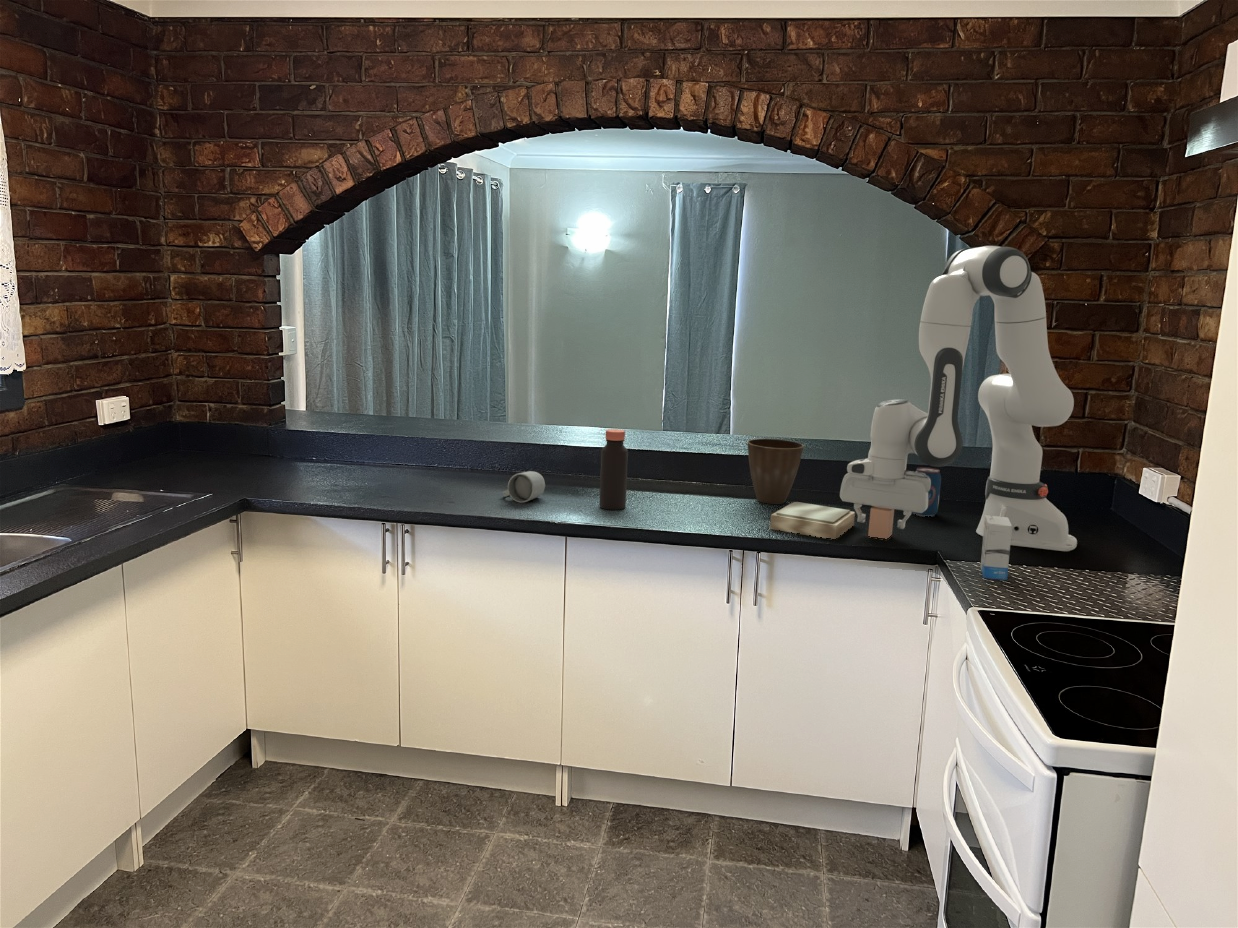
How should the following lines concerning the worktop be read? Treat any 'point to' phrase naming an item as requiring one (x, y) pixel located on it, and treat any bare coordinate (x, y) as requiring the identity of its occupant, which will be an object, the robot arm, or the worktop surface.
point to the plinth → (812, 520)
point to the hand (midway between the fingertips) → (880, 524)
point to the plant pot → (773, 468)
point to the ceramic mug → (525, 486)
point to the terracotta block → (881, 522)
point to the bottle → (613, 471)
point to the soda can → (931, 490)
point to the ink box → (996, 547)
